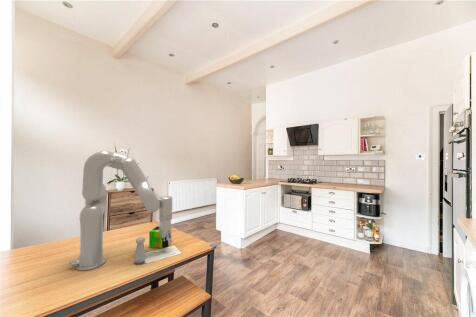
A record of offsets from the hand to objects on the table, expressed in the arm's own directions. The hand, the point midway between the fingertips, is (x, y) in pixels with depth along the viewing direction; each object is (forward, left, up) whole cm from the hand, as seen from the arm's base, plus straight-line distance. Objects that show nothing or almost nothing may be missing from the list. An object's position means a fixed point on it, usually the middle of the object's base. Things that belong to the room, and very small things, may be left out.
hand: (165, 247), depth 121 cm
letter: (-3, -3, -2) cm, 5 cm away
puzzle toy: (0, +10, -2) cm, 10 cm away
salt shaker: (-15, -6, -2) cm, 17 cm away
